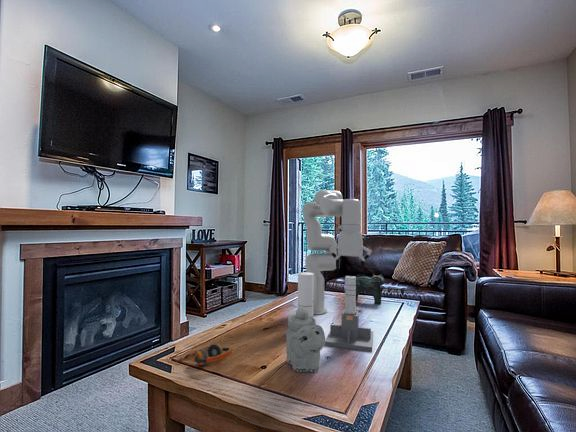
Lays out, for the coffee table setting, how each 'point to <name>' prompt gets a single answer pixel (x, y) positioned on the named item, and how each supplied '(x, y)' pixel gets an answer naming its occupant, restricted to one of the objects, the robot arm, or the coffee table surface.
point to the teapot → (304, 342)
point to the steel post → (350, 295)
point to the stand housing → (350, 334)
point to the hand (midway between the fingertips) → (350, 269)
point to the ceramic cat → (370, 286)
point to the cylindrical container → (306, 291)
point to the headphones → (211, 354)
